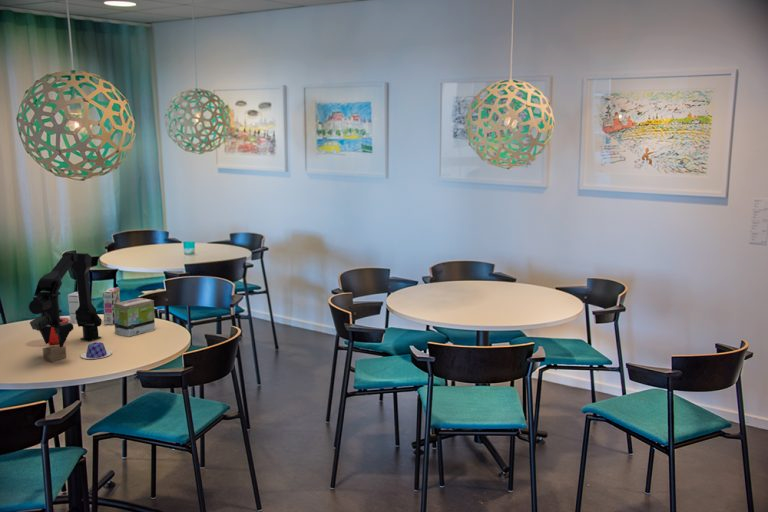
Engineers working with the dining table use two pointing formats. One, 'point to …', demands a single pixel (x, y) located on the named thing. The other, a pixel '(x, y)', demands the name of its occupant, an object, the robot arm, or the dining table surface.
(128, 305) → the tea box
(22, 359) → the dining table surface
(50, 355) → the walnut block
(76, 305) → the syrup box
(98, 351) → the pudding
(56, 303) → the robot arm
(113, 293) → the candy bar box
